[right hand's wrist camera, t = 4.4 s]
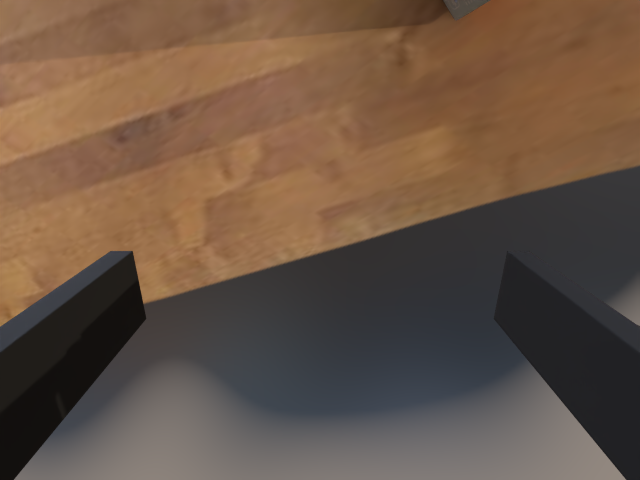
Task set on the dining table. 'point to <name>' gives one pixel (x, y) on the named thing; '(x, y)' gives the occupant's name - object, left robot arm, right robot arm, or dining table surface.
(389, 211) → the dining table surface
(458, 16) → the hard drive box
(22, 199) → the dining table surface
